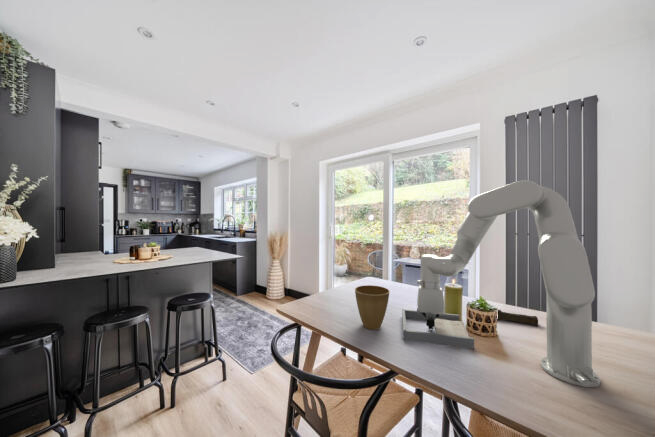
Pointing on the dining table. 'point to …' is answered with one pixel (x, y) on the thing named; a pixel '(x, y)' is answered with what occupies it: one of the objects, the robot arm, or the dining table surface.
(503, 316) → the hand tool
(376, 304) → the plant pot
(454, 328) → the washcloth
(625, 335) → the dining table surface
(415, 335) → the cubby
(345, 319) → the dining table surface
